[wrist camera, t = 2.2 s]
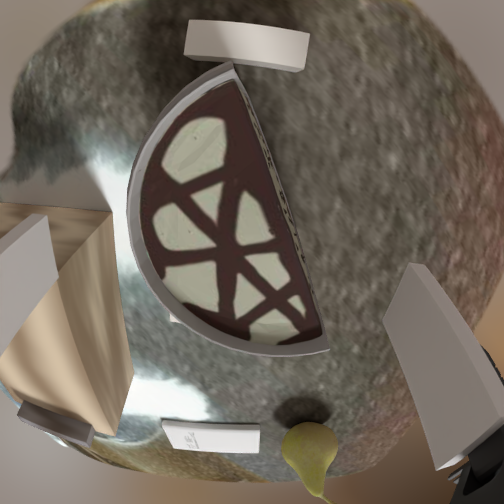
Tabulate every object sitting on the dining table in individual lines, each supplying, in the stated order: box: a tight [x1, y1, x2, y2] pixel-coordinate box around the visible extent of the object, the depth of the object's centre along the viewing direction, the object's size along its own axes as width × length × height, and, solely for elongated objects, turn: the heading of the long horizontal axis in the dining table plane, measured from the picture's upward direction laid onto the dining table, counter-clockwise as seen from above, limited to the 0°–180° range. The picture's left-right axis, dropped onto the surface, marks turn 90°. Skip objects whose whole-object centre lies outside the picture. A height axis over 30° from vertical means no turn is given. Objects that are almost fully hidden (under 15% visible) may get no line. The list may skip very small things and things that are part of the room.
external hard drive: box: [162, 420, 260, 453], centre depth 36 cm, size 2×8×12 cm
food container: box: [126, 60, 330, 357], centre depth 15 cm, size 12×6×10 cm, turn 20°
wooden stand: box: [0, 202, 134, 448], centre depth 20 cm, size 12×18×10 cm, turn 172°
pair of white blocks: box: [170, 20, 310, 323], centre depth 18 cm, size 6×19×3 cm, turn 172°
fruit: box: [281, 422, 338, 504], centre depth 29 cm, size 7×8×12 cm
